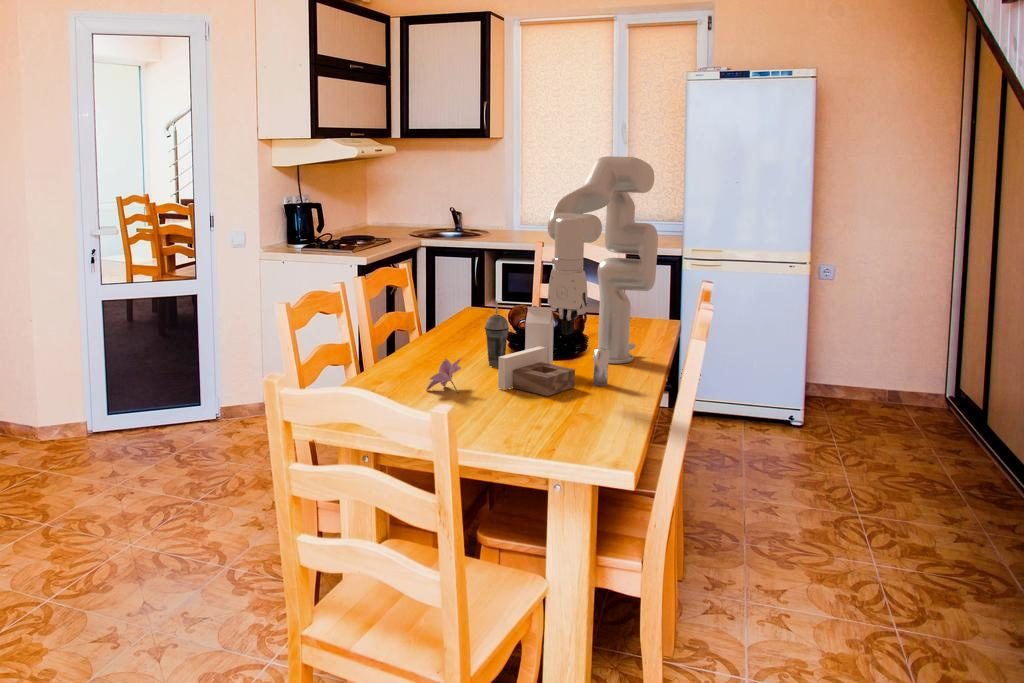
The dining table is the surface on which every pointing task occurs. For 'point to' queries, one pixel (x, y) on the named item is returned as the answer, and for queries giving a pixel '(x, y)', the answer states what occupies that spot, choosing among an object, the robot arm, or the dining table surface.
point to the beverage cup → (496, 337)
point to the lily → (445, 373)
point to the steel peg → (601, 367)
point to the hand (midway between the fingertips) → (567, 333)
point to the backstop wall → (518, 364)
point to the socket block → (543, 378)
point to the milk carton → (540, 330)
